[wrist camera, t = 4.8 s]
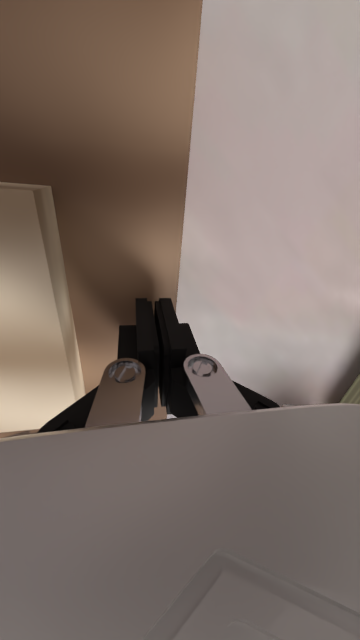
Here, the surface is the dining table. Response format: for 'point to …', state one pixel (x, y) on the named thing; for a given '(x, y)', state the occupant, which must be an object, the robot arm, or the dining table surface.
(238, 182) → the dining table surface
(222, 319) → the dining table surface
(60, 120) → the walnut board
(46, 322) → the birch tile
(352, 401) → the hardcover book
